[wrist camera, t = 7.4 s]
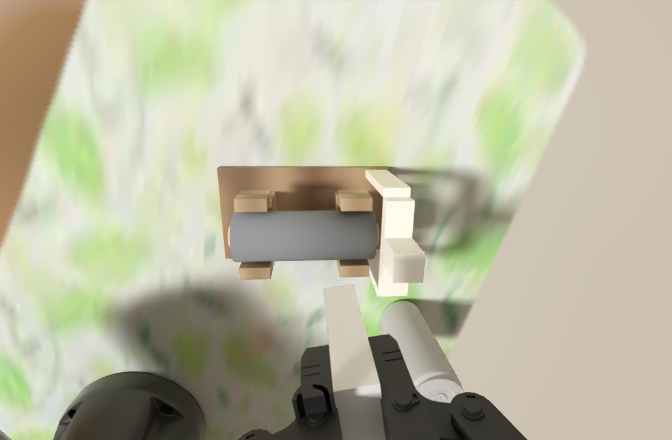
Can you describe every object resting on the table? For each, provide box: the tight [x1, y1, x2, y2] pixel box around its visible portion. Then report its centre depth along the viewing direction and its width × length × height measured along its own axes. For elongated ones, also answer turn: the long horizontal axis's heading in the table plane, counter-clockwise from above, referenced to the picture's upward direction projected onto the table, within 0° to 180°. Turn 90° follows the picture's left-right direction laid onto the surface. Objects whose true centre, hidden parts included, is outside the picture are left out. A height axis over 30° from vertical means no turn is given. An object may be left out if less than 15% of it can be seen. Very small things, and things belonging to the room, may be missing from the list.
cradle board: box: [217, 167, 389, 280], centre depth 30 cm, size 16×9×8 cm, turn 89°
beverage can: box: [379, 301, 463, 403], centre depth 33 cm, size 5×5×12 cm
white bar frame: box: [365, 170, 426, 296], centre depth 28 cm, size 2×9×12 cm, turn 179°
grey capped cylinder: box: [228, 210, 379, 262], centre depth 28 cm, size 12×4×4 cm, turn 89°
